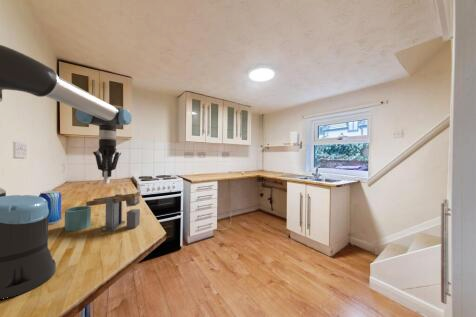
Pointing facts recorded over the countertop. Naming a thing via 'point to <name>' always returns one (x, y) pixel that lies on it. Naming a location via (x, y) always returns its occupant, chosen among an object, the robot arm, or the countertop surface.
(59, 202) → the beer can
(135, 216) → the block
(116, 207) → the stand
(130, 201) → the lever
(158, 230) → the countertop surface
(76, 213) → the teal beaker
